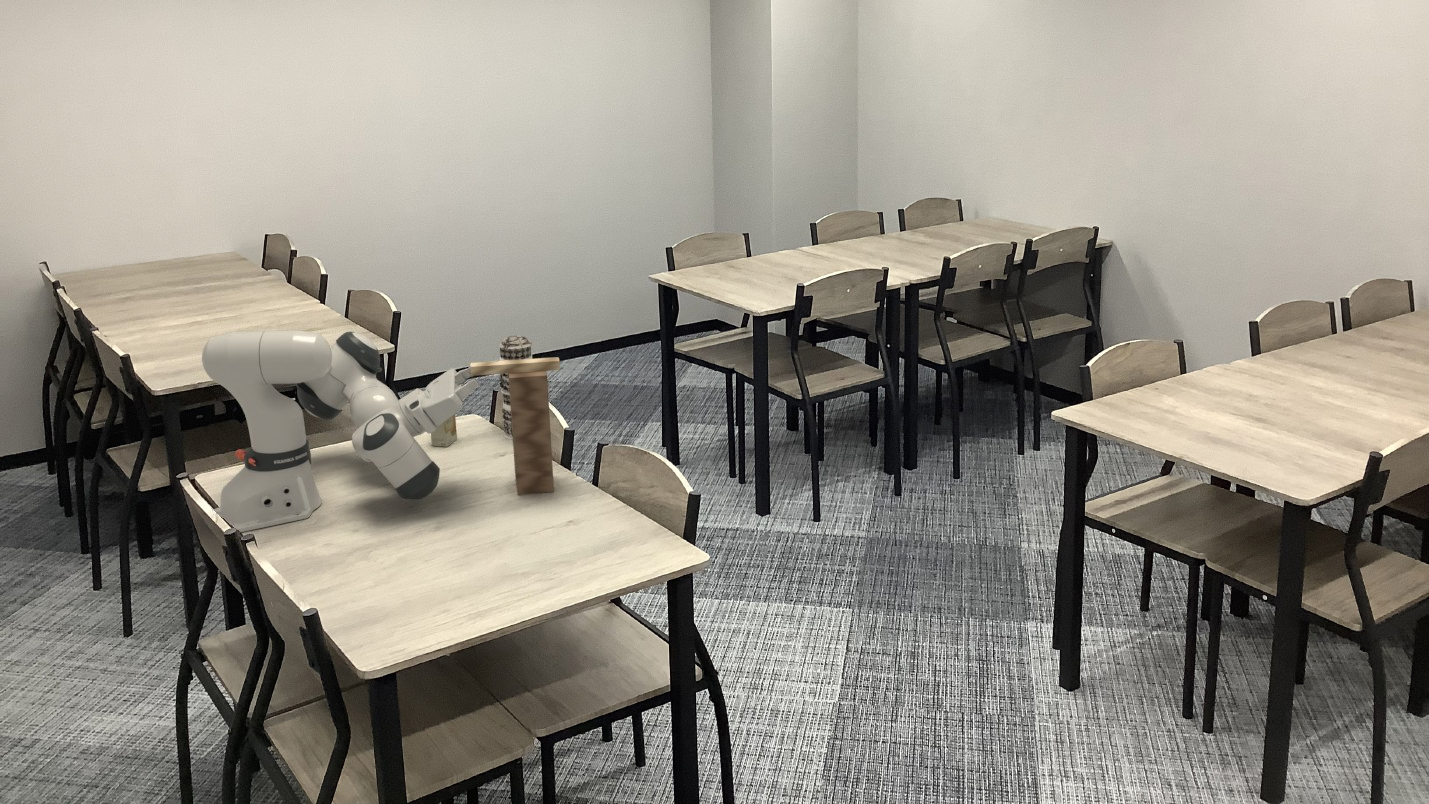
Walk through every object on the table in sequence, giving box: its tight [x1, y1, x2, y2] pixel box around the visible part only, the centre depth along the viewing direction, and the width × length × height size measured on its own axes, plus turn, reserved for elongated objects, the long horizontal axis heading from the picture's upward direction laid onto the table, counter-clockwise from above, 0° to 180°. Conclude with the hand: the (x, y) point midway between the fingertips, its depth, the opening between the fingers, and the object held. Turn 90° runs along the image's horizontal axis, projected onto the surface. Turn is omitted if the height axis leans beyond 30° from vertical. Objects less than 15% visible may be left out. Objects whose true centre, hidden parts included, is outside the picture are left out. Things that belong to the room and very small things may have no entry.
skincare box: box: [430, 413, 458, 448], centre depth 294 cm, size 6×4×12 cm
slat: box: [469, 356, 561, 377], centre depth 260 cm, size 19×3×2 cm, turn 101°
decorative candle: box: [498, 335, 533, 441], centre depth 297 cm, size 9×9×25 cm
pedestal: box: [508, 371, 555, 496], centre depth 265 cm, size 8×10×27 cm
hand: (476, 374), depth 259 cm, fingers open, 8 cm apart
